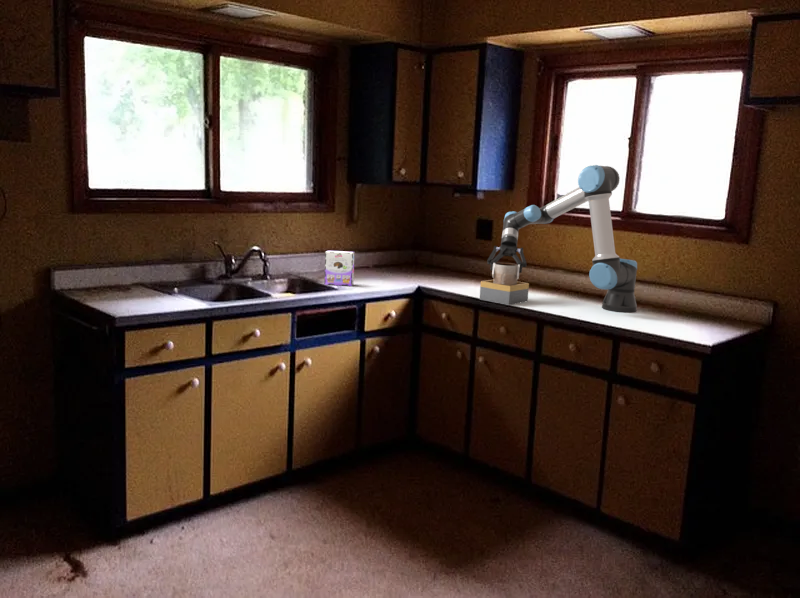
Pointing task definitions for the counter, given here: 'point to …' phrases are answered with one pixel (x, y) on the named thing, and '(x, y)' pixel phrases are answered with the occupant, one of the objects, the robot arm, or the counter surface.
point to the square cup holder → (504, 292)
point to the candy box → (339, 268)
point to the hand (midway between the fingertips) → (505, 276)
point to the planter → (505, 274)
